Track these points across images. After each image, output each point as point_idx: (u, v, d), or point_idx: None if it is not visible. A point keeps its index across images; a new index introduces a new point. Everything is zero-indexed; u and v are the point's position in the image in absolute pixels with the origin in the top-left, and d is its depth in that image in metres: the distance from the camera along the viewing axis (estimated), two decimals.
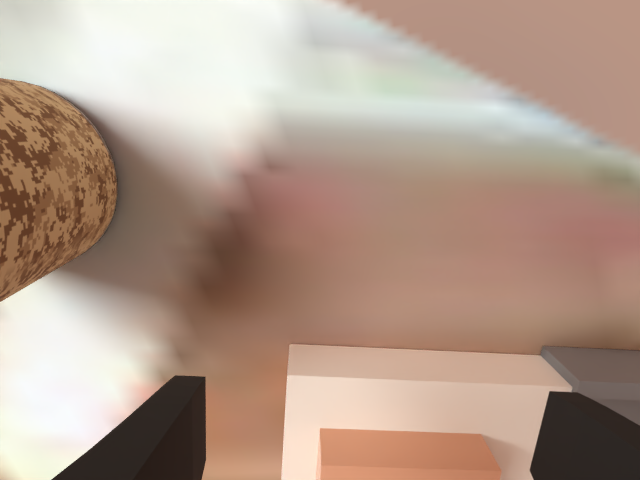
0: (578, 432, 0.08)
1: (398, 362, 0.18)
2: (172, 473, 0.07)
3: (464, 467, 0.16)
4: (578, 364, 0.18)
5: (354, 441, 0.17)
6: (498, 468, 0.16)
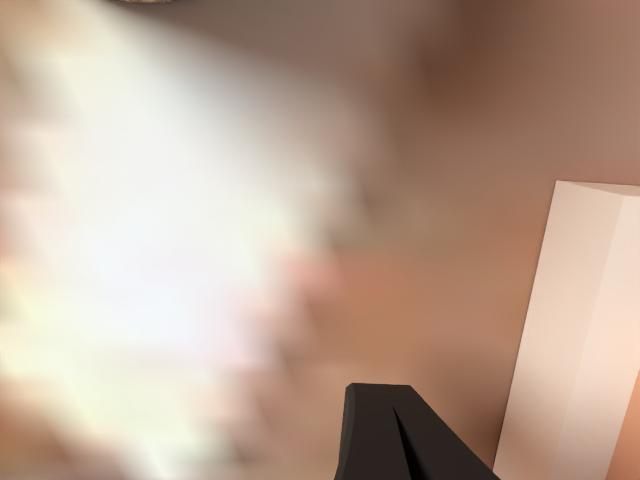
0: None
1: None
2: None
3: None
4: None
5: None
6: None
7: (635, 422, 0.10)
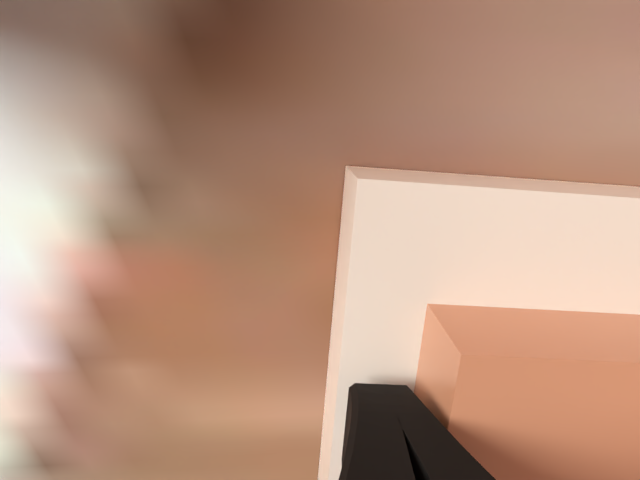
0: None
1: (562, 185, 0.10)
2: None
3: None
4: None
5: (508, 322, 0.08)
6: None
7: None
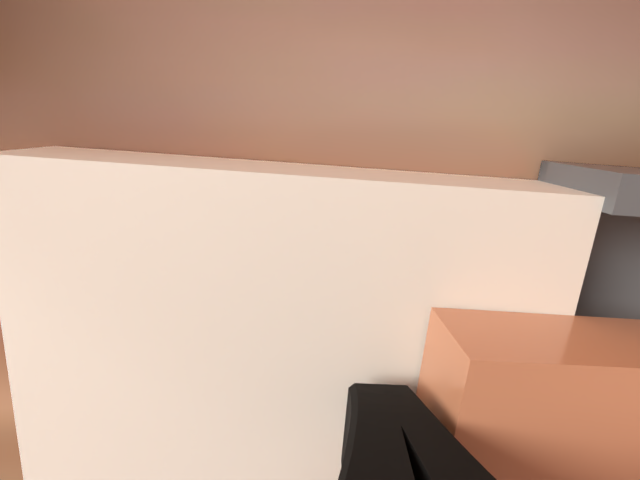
0: None
1: (251, 164, 0.09)
2: None
3: None
4: (614, 169, 0.09)
5: (512, 326, 0.08)
6: None
7: None
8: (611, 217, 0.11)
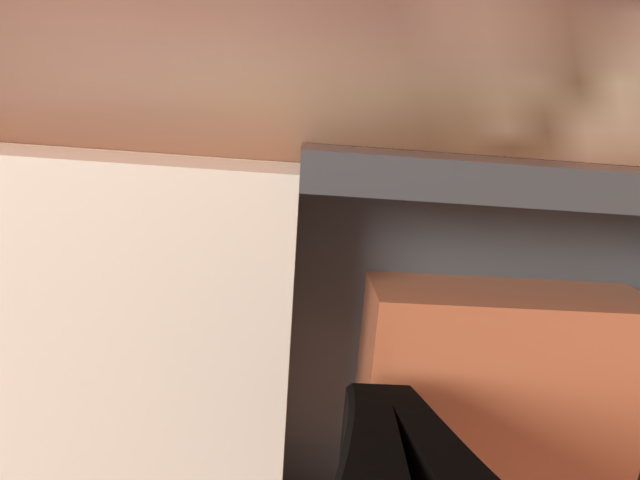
0: None
1: None
2: None
3: (626, 311, 0.09)
4: (338, 148, 0.09)
5: (427, 283, 0.10)
6: None
7: (358, 374, 0.11)
8: (378, 201, 0.10)
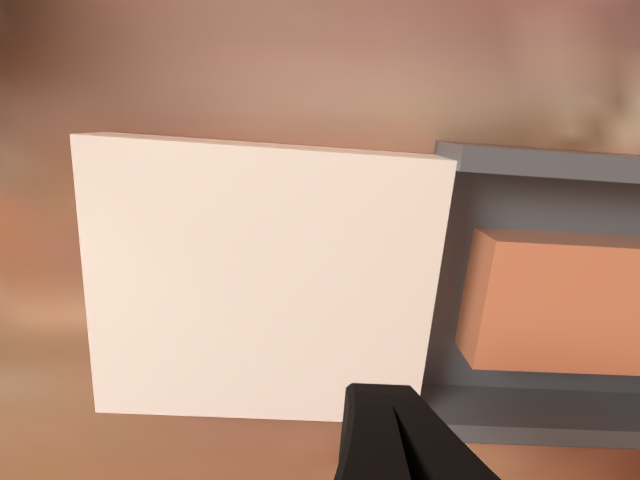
0: None
1: (237, 142, 0.14)
2: None
3: None
4: (472, 144, 0.14)
5: (518, 233, 0.16)
6: None
7: (465, 298, 0.17)
8: (484, 179, 0.16)
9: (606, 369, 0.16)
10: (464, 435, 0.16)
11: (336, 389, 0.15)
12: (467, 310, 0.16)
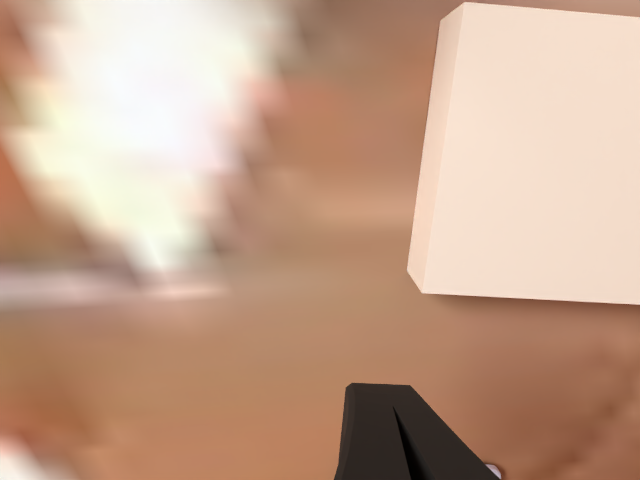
0: None
1: None
2: None
3: None
4: None
5: None
6: None
7: None
8: None
9: None
10: None
11: None
12: None
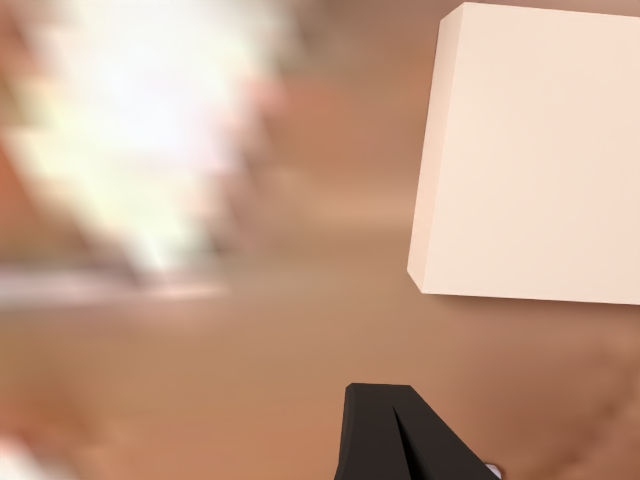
0: None
1: None
2: None
3: None
4: None
5: None
6: None
7: None
8: None
9: None
10: None
11: None
12: None
